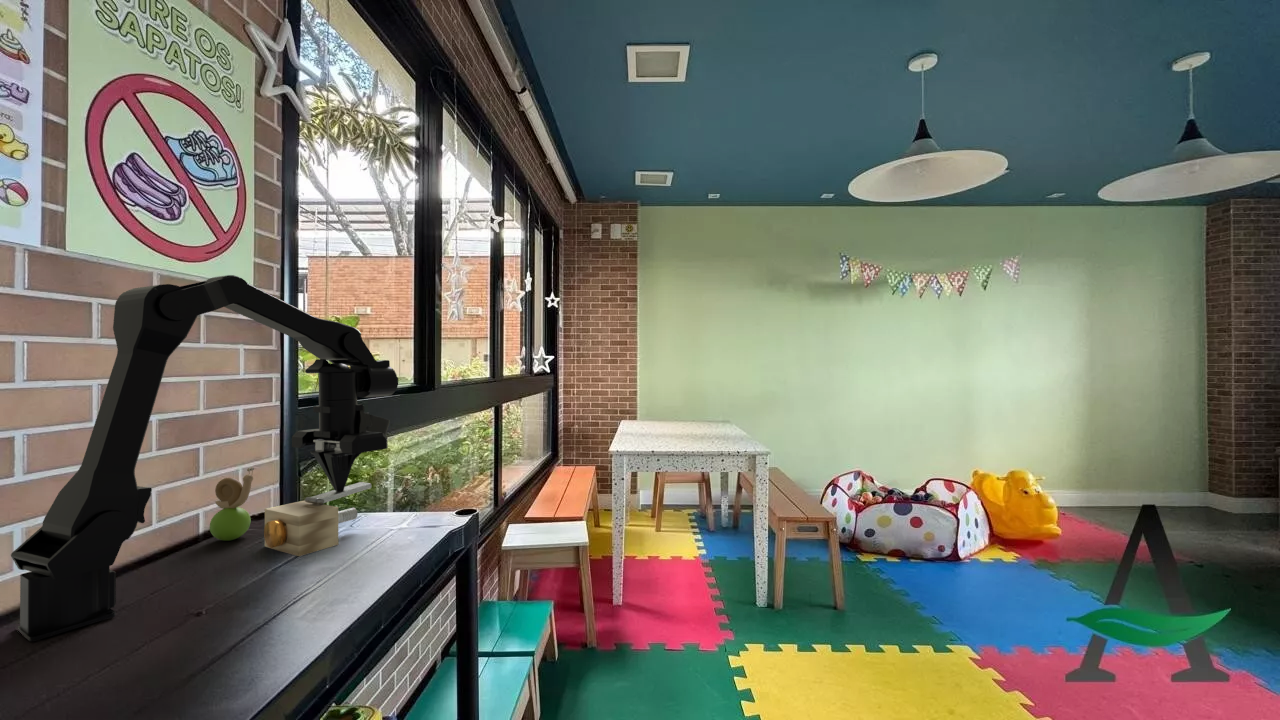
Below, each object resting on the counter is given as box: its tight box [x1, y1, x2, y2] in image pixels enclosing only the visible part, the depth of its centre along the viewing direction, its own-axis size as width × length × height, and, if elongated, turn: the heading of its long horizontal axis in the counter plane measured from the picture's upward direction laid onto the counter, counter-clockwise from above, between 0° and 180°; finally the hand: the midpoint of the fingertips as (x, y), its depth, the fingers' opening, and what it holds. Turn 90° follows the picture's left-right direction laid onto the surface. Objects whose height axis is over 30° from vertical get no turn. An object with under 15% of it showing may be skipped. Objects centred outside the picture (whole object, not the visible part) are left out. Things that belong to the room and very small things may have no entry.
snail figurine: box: [209, 467, 255, 542], centre depth 87 cm, size 5×6×12 cm
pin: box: [263, 507, 359, 549], centre depth 86 cm, size 13×4×4 cm, turn 151°
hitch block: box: [264, 500, 339, 557], centre depth 84 cm, size 6×10×6 cm, turn 61°
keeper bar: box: [304, 481, 372, 505], centre depth 89 cm, size 10×4×1 cm, turn 151°
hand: (339, 490), depth 89 cm, fingers closed, pressing on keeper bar
